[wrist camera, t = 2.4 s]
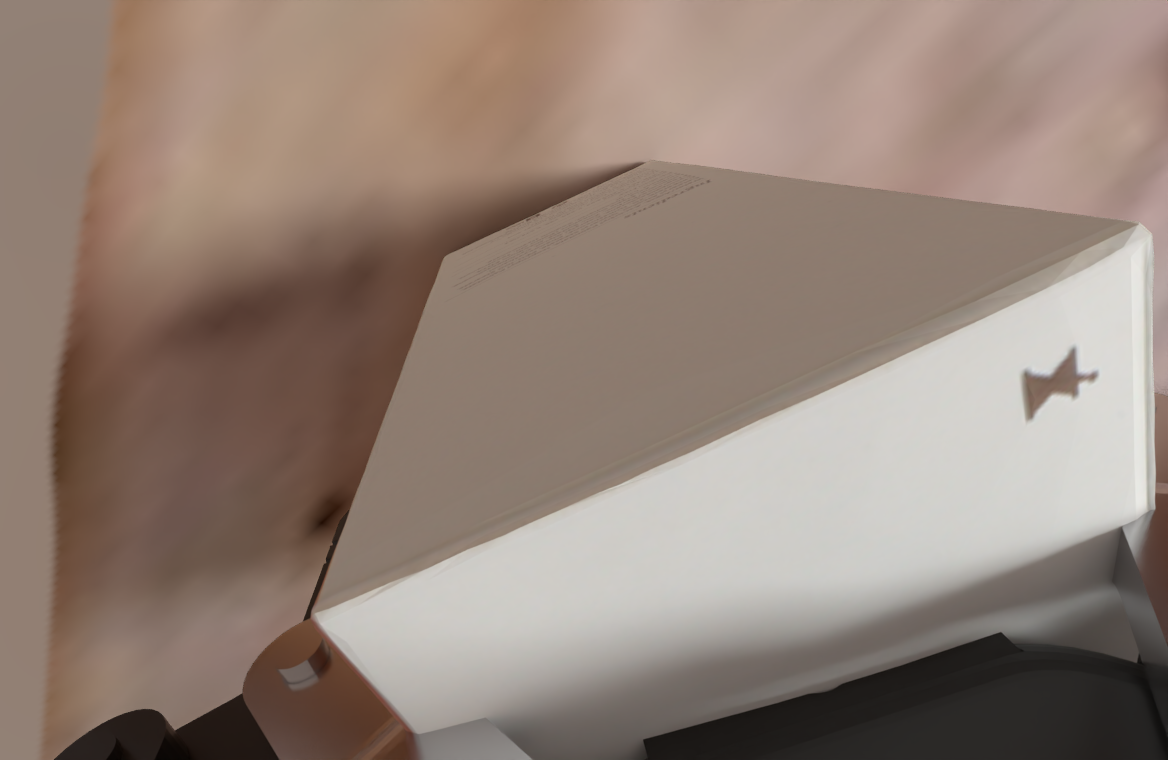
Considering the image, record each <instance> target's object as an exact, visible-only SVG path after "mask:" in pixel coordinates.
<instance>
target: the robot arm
mask: <svg viewBox="0 0 1168 760" xmlns="http://www.w3.org/2000/svg"><path fill="white" fill-rule="evenodd" d="M1154 398H1155V434H1154V443H1155V467H1156V481H1155V507H1156V508H1155V509H1154V510H1150V511H1148V512H1146V513H1145V514H1143V515H1142V516H1141V517H1139V518H1138V519H1137V520H1135V521H1132V522H1130V523H1128V524H1125V525H1123V526H1122V527H1121V533H1120V538H1119V544H1118V550H1117V556H1116V561H1115V567H1114V573H1113V579H1112V582H1113V583H1114V585H1115V586H1116V588H1117V590H1118V592H1119V594H1120V597H1121V599H1122V602H1123V605H1124V608H1125V611H1126V614H1127V617H1128V620H1129V623H1130V626H1131V629H1132V632H1133V635H1134V638H1135V641H1136V644H1137V647H1138V650H1139V655H1138V659H1137V663H1136V662H1133V661H1129V660H1126V659H1122V658H1118V657H1115V656H1111V655H1107V654H1104V653H1099V652H1094V651H1089V650H1084V649H1079V648H1074V647H1066V646H1058V645H1049V644H1013V643H1012V642H1011V641H1010V640H1009V639H1008V638H1007V637H1006V636H1005V635H1004V634H1003V633H1002V632H999V633H996V634H993V635H990V636H987V637H984V638H981V639H978V640H975V641H972V642H969V643H966V644H963V645H960V646H957V647H954V648H951V649H948V650H945V651H942V652H939V653H936V654H933V655H930V656H927V657H924V658H921V659H918V660H915V661H912V662H909V663H907V664H904V665H901V666H897V667H894V668H891V669H888V670H885V671H881V672H878V673H875V674H872V675H868V676H865V677H862V678H859V679H856V680H852V681H849V682H846V683H843V684H841V685H839V686H838V687H836V688H834V689H832V690H830V691H827V692H822V693H810V694H806V695H802V696H799V697H796V698H792V699H789V700H785V701H782V702H779V703H775V704H771V705H768V706H764V707H760V708H757V709H753V710H749V711H746V712H742V713H738V714H735V715H731V716H727V717H724V718H720V719H716V720H713V721H709V722H705V723H702V724H698V725H694V726H691V727H687V728H683V729H680V730H676V731H672V732H669V733H665V734H661V735H658V736H654V737H650V738H647V739H643V742H644V746H645V749H646V753H647V757H648V758H646V759H645V760H1168V396H1165V395H1162V394H1158V393H1154ZM349 511H350V510H349ZM349 511H348V512H347V513H346V514H345V515H344V517H343V518H342V519H341V520H340V522H339V524H338V527H337V530H336V533H335V535H334V538H333V541H332V543H333V545H332V546H330V549H329V552H328V554H327V557H326V564H324V565H323V568H322V571H321V574H320V576H319V579H318V582H317V584H316V587H315V590H314V593H313V595H312V598H311V601H310V604H309V606H308V609H307V612H306V614H305V617H304V620H303V622H301V623H299V624H297V625H295V626H294V627H292V628H290V629H289V630H287V631H286V632H284V633H283V634H281V635H280V636H279V637H278V638H276V639H275V640H274V641H273V642H272V643H271V644H270V645H268V646H267V647H266V648H265V649H264V651H263V652H262V653H261V654H260V655H259V656H258V657H257V659H256V660H255V661H254V663H253V664H252V666H251V668H250V669H249V671H248V673H247V675H246V678H245V680H244V684H243V689H242V691H243V693H242V694H241V695H239V696H237V697H235V698H234V699H232V700H230V701H228V702H227V703H225V704H223V705H221V706H219V707H217V708H216V709H214V710H212V711H210V712H208V713H206V714H204V715H203V716H201V717H199V718H197V719H195V720H193V721H192V722H190V723H188V724H186V725H184V726H182V727H181V728H179V729H177V730H174V729H173V728H172V727H171V725H170V724H169V723H168V721H167V720H166V719H165V718H164V716H163V715H162V714H161V713H159V712H158V711H155V710H152V709H141V710H135V711H131V712H128V713H124V714H122V715H119V716H117V717H114V718H112V719H110V720H108V721H106V722H104V723H102V724H101V725H99V726H97V727H96V728H94V729H92V730H91V731H89V732H88V733H86V734H85V735H83V736H82V737H81V738H79V739H78V740H76V741H75V742H74V743H73V744H71V745H70V746H69V747H68V748H66V749H65V750H64V751H63V752H62V753H61V754H60V755H58V756H57V757H56V758H55V759H54V760H532V759H531V758H530V757H529V756H528V755H527V754H526V753H525V752H524V751H522V750H521V749H520V748H519V747H518V746H517V745H516V744H515V743H513V742H512V741H511V740H510V739H509V738H508V737H507V736H506V735H505V734H503V733H502V732H501V731H500V730H499V729H498V728H497V727H496V726H495V725H493V724H492V723H491V722H490V721H489V720H488V719H487V718H482V719H478V720H474V721H470V722H466V723H462V724H458V725H454V726H450V727H446V728H443V729H439V730H435V731H431V732H426V733H422V734H416V733H413V732H409V731H406V730H405V729H404V728H403V727H402V726H401V725H400V723H399V722H398V721H397V720H396V719H395V718H394V716H393V715H392V714H391V713H390V712H389V711H388V709H387V708H386V707H385V706H384V705H383V704H382V703H381V701H380V700H379V699H378V698H377V697H376V696H375V695H374V693H373V692H372V691H371V690H370V689H369V688H368V687H367V686H366V684H365V683H364V682H363V681H362V680H361V679H360V678H359V677H358V676H357V674H356V673H355V672H354V671H353V670H352V669H351V668H350V667H349V666H348V664H347V663H346V662H345V661H344V660H343V659H342V658H341V657H340V655H339V654H338V653H337V652H336V651H335V650H334V649H333V648H332V647H331V645H330V644H329V643H328V642H327V641H326V640H325V639H324V638H323V637H322V636H321V635H320V634H319V632H318V631H317V630H316V629H315V627H314V625H313V623H312V621H311V618H310V617H311V611H312V608H313V606H314V603H315V601H316V598H317V596H318V593H319V591H320V589H321V586H322V583H323V581H324V578H325V575H326V572H327V570H328V567H329V564H330V561H331V559H332V556H333V553H334V551H335V548H336V546H337V543H338V541H339V538H340V536H341V533H342V531H343V528H344V526H345V523H346V520H347V517H348V514H349Z"/></svg>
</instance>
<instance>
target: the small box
mask: <svg viewBox="0 0 1168 760" xmlns="http://www.w3.org/2000/svg"><path fill="white" fill-rule="evenodd" d="M1153 276H1154V250H1153V238H1152V234H1151V233H1150V232H1149V231H1148V230H1147V229H1146V228H1145V227H1144V226H1143V225H1142V224H1141V223H1140V222H1135V221H1127V220H1119V219H1110V218H1102V217H1094V216H1085V215H1077V214H1069V213H1062V212H1054V211H1047V210H1040V209H1032V208H1024V207H1015V206H1007V205H999V204H991V203H982V202H974V201H967V200H959V199H951V198H943V197H935V196H927V195H919V194H911V193H904V192H896V191H888V190H880V189H872V188H863V187H855V186H847V185H840V184H832V183H824V182H817V181H809V180H802V179H794V178H787V177H779V176H772V175H765V174H758V173H751V172H742V171H735V170H729V169H721V168H714V167H706V166H699V165H689V164H680V163H671V162H663V161H655V160H651V161H649V162H646V163H644V164H642V165H640V166H638V167H636V168H634V169H632V170H630V171H628V172H625V173H623V174H621V175H619V176H617V177H615V178H612V179H610V180H608V181H606V182H604V183H602V184H600V185H597V186H595V187H593V188H591V189H589V190H587V191H585V192H582V193H580V194H578V195H576V196H574V197H572V198H570V199H567V200H565V201H563V202H561V203H559V204H557V205H554V206H552V207H550V208H548V209H546V210H544V211H541V212H539V213H537V214H535V215H533V216H531V217H528V218H526V219H524V220H522V221H520V222H517V223H515V224H513V225H511V226H509V227H507V228H504V229H502V230H500V231H498V232H495V233H493V234H491V235H489V236H487V237H485V238H482V239H480V240H478V241H476V242H474V243H472V244H470V245H468V246H465V247H463V248H461V249H459V250H457V251H454V252H452V253H450V254H448V255H446V256H445V257H444V258H443V260H442V263H441V266H440V269H439V271H438V275H437V277H436V280H435V283H434V285H433V287H432V289H431V292H430V294H429V297H428V299H427V302H426V305H425V307H424V310H423V313H422V316H421V319H420V321H419V324H418V327H417V330H416V333H415V336H414V338H413V340H412V343H411V346H410V349H409V351H408V354H407V357H406V360H405V363H404V365H403V368H402V371H401V373H400V376H399V379H398V381H397V384H396V387H395V390H394V393H393V395H392V398H391V401H390V404H389V406H388V409H387V411H386V414H385V416H384V419H383V422H382V424H381V427H380V430H379V432H378V435H377V438H376V440H375V443H374V446H373V448H372V451H371V454H370V457H369V460H368V463H367V466H366V468H365V471H364V474H363V477H362V479H361V482H360V484H359V487H358V489H357V492H356V494H355V496H354V499H353V502H352V505H351V508H350V511H349V514H348V517H347V520H346V523H345V526H344V528H343V531H342V533H341V536H340V538H339V541H338V543H337V546H336V548H335V551H334V553H333V556H332V559H331V561H330V564H329V567H328V570H327V572H326V575H325V578H324V581H323V583H322V586H321V589H320V591H319V593H318V596H317V598H316V601H315V603H314V606H313V608H312V611H311V617H310V618H311V621H312V623H313V625H314V627H315V629H316V630H317V631H318V632H319V634H320V635H321V636H322V637H323V638H324V639H325V640H326V641H327V642H328V643H329V644H330V645H331V647H332V648H333V649H334V650H335V651H336V652H337V653H338V654H339V655H340V657H341V658H342V659H343V660H344V661H345V662H346V663H347V664H348V666H349V667H350V668H351V669H352V670H353V671H354V672H355V673H356V674H357V676H358V677H359V678H360V679H361V680H362V681H363V682H364V683H365V684H366V686H367V687H368V688H369V689H370V690H371V691H372V692H373V693H374V695H375V696H376V697H377V698H378V699H379V700H380V701H381V703H382V704H383V705H384V706H385V707H386V708H387V709H388V711H389V712H390V713H391V714H392V715H393V716H394V718H395V719H396V720H397V721H398V722H399V723H400V725H401V726H402V727H403V728H404V729H405V730H406V731H409V732H413V733H416V734H422V733H426V732H431V731H435V730H439V729H443V728H446V727H450V726H454V725H458V724H462V723H466V722H470V721H474V720H478V719H482V718H487V719H488V720H489V721H490V722H491V723H492V724H493V725H495V726H496V727H497V728H498V729H499V730H500V731H501V732H502V733H503V734H505V735H506V736H507V737H508V738H509V739H510V740H511V741H512V742H513V743H515V744H516V745H517V746H518V747H519V748H520V749H521V750H522V751H524V752H525V753H526V754H527V755H528V756H529V757H530V758H531V759H532V760H645V759H646V758H648V757H647V753H646V749H645V746H644V742H643V739H647V738H650V737H654V736H658V735H661V734H665V733H669V732H672V731H676V730H680V729H683V728H687V727H691V726H694V725H698V724H702V723H705V722H709V721H713V720H716V719H720V718H724V717H727V716H731V715H735V714H738V713H742V712H746V711H749V710H753V709H757V708H760V707H764V706H768V705H771V704H775V703H779V702H782V701H785V700H789V699H792V698H796V697H799V696H802V695H806V694H810V693H822V692H827V691H830V690H832V689H834V688H836V687H838V686H839V685H841V684H843V683H846V682H849V681H852V680H856V679H859V678H862V677H865V676H868V675H872V674H875V673H878V672H881V671H885V670H888V669H891V668H894V667H897V666H901V665H904V664H907V663H909V662H912V661H915V660H918V659H921V658H924V657H927V656H930V655H933V654H936V653H939V652H942V651H945V650H948V649H951V648H954V647H957V646H960V645H963V644H966V643H969V642H972V641H975V640H978V639H981V638H984V637H987V636H990V635H993V634H996V633H999V632H1002V633H1003V634H1004V635H1005V636H1006V637H1007V638H1008V639H1009V640H1010V641H1011V642H1012V643H1013V644H1049V645H1058V646H1066V647H1074V648H1079V649H1084V650H1089V651H1094V652H1099V653H1104V654H1107V655H1111V656H1115V657H1118V658H1122V659H1126V660H1129V661H1133V662H1136V663H1137V659H1138V655H1139V650H1138V647H1137V644H1136V641H1135V638H1134V635H1133V632H1132V629H1131V626H1130V623H1129V620H1128V617H1127V614H1126V611H1125V608H1124V605H1123V602H1122V599H1121V597H1120V594H1119V592H1118V590H1117V588H1116V586H1115V585H1114V583H1113V582H1112V579H1113V573H1114V567H1115V561H1116V556H1117V550H1118V544H1119V538H1120V533H1121V527H1122V526H1123V525H1125V524H1128V523H1130V522H1132V521H1135V520H1137V519H1138V518H1139V517H1141V516H1142V515H1143V514H1145V513H1146V512H1148V511H1150V510H1154V509H1155V508H1156V507H1155V481H1156V467H1155V443H1154V434H1155V398H1154V377H1153V319H1152V296H1153Z"/></svg>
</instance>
